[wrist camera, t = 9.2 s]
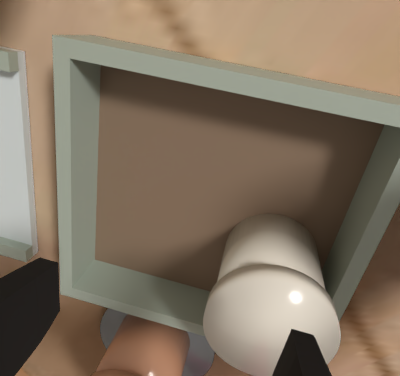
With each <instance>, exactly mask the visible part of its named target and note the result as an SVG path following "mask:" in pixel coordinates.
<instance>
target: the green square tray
mask: <svg viewBox="0 0 400 376" xmlns="http://www.w3.org/2000/svg"><path fill="white" fill-rule="evenodd" d="M52 42H53V74H54V106H55V137H56V169H57V201H58V232H59V264H60V294H62V295H65V296H69V297H72V298H75V299H79V300H82V301H86V302H89V303H93V304H96V305H99V306H103V307H106V308H110V309H113V310H116V311H120V312H123V313H127V314H130V315H133V316H137V317H140V318H144V319H147V320H151V321H154V322H157V323H161V324H164V325H168V326H171V327H174V328H178V329H181V330H185V331H188V332H191V333H195V334H198V335H202V336H205V334H204V329H203V317H204V312H205V308H206V304H207V300H208V297H209V294H210V292H211V290H212V288H213V286H214V285H215V284H216V283H217V280H218V275H219V271H220V267H221V262H222V258H223V253H224V249H225V245H226V241H227V238H228V236H229V234H230V232H231V231H232V229H233V228H234V227H235V226H236V225H237V224H238V223H240V222H241V221H243V220H245V219H246V218H249V217H251V216H255V215H259V214H279V215H283V216H287V217H289V218H292V219H294V220H296V221H297V222H299V223H301V224H302V225H303V226H304V227H305V228H306V229H307V230H308V231H309V232H310V233H311V235H312V236H313V238H314V240H315V243H316V247H317V251H318V256H319V261H320V266H321V271H322V275H323V280H324V285H325V290H326V291H327V293H328V294H329V295H330V297H331V299H332V301H333V303H334V306H335V309H336V313H337V317H338V322H339V321H340V319H341V317H342V315H343V313H344V311H345V309H346V308H347V306H348V304H349V302H350V300H351V298H352V296H353V294H354V292H355V290H356V288H357V286H358V284H359V282H360V280H361V278H362V276H363V274H364V272H365V270H366V268H367V266H368V264H369V262H370V260H371V258H372V256H373V254H374V252H375V250H376V248H377V246H378V244H379V243H380V241H381V239H382V237H383V235H384V233H385V231H386V229H387V227H388V225H389V223H390V221H391V219H392V217H393V215H394V213H395V211H396V209H397V207H398V205H399V203H400V97H399V96H394V95H389V94H384V93H379V92H374V91H369V90H364V89H359V88H354V87H349V86H344V85H339V84H334V83H329V82H324V81H319V80H314V79H309V78H304V77H299V76H294V75H289V74H284V73H279V72H274V71H269V70H264V69H259V68H254V67H249V66H244V65H239V64H234V63H229V62H224V61H219V60H214V59H209V58H204V57H199V56H194V55H189V54H184V53H179V52H174V51H169V50H164V49H159V48H154V47H149V46H144V45H139V44H134V43H129V42H124V41H119V40H114V39H109V38H104V37H99V36H94V35H52Z"/></svg>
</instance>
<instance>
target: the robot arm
mask: <svg viewBox="0 0 400 376" xmlns="http://www.w3.org/2000/svg"><path fill="white" fill-rule="evenodd" d="M59 311H60V303H59V273H58V263H57V262H54V261H50V260H47V259H43V258H38V259H36V260H34V261H32V262H30V263H28V264H27V265H25V266H23V267H21V268H19V269H17V270H15V271H13V272H11V273H10V274H8V275H6V276H4V277H2V278H0V376H15V375H16V373H17V372H18V371H19V369H20V368H21V367H22V366H23V364H24V363H25V362H26V360H27V359H28V358H29V357H30V355H31V354H32V353H33V351H34V350H35V349H36V347H37V346H38V345H39V343H40V342H41V341H42V339H43V337H44V336H45V334H46V333H47V331H48V329H49V328H50V326H51V325H52V323H53V321H54V319H55V318H56V316H57V314H58V313H59ZM272 376H332V375H331V373H330V371H329V368H328V366H327V364H326V362H325V359H324V357H323V355H322V352H321V350H320V348H319V345H318V343H317V341H316V338H315V337H314V335H312V334H309V333H305V332H302V331H298V330H295V329H291V331H290V334H289V336H288V339H287V341H286V343H285V346H284V348H283V350H282V353H281V355H280V358H279V360H278V362H277V365H276V367H275V369H274V372H273V374H272Z"/></svg>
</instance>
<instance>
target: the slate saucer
mask: <svg viewBox="0 0 400 376" xmlns="http://www.w3.org/2000/svg"><path fill="white" fill-rule="evenodd" d="M127 315H128V314H127V313H123V312H120V311H116V310H113V309H110V308H108V309H107V310H106V312H105V314H104V315H103V317H102V320H101V325H100V333H101V338H102V341H103V343H104V345H105V347H106V349H108V347H109V345H110V343H111V341H112V340H113V338H114V336H115V334H116V332H117V330H118V328H119V327H120V325H121V323H122V321H123V319H124V318H125V316H127ZM187 333H188V335H189V339H190V347H189V351H188V355H187V359H186V362H185V366H184V369H183V373H182V376H203V375H205V374H206V373H207V371H208V370H209V369H210V367H211V365H212V363H213V359H214V354H215V352H214V350H213V349H212V348H211V346H210V345H209V343H208V341H207V339H206V337H205V336H202V335H198V334H195V333H191V332H188V331H187Z"/></svg>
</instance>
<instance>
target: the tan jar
mask: <svg viewBox="0 0 400 376" xmlns="http://www.w3.org/2000/svg"><path fill="white" fill-rule="evenodd" d="M189 347H190V339H189V335H188V333H187V331H185V330H181V329H178V328H174V327H171V326H168V325H164V324H161V323H157V322H154V321H151V320H147V319H144V318H140V317H137V316H133V315H130V314H128V315H127V316H125V318H124V319H123V321H122V323H121V325H120V327H119V328H118V330H117V332H116V334H115V336H114V338H113V340H112V341H111V343H110V345H109V347H108V349H107V351H106V353H105V354H104V356H103V358H102V360H101V362H100V364H99V366H98V367H97V369H96V371H95V373H93V374H91V375H90V376H182V373H183V369H184V366H185V362H186V359H187V355H188V351H189Z"/></svg>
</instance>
